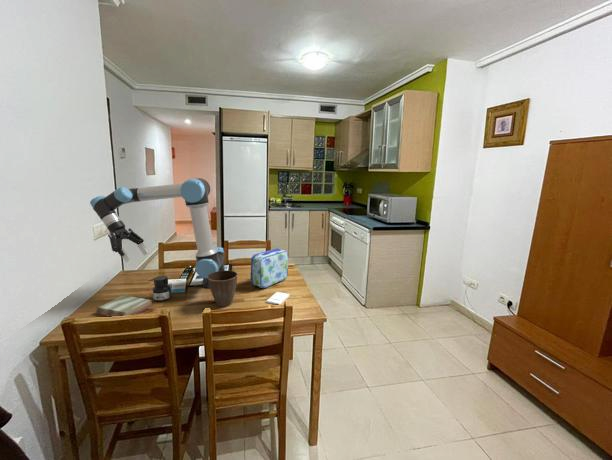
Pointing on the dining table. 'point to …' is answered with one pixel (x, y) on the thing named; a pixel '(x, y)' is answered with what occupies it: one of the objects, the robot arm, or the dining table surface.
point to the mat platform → (124, 306)
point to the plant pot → (223, 286)
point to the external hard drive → (277, 298)
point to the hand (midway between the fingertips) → (137, 257)
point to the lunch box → (269, 267)
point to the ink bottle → (161, 289)
